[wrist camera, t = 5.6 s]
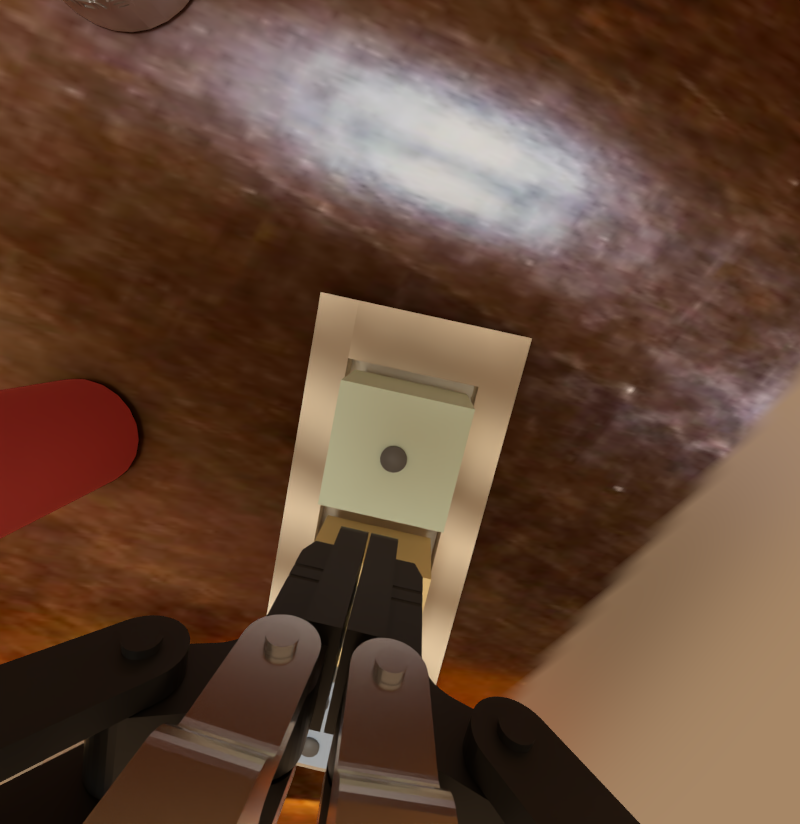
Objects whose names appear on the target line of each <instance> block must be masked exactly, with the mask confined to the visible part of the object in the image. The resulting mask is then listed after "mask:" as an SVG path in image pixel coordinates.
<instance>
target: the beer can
mask: <svg viewBox="0 0 800 824" xmlns="http://www.w3.org/2000/svg"><path fill="white" fill-rule="evenodd" d="M138 442H139V438H138V431H137V424H136V422H135V420H134V418H133V415H132V413H131V411H130V409H129V408H128V406H127V405H126V404H125V403H124V402H123V401H122V399H121V398H120V397H119V396H118V395H117V394H115V393H114V392H112V391H111V390H110V389H108V388H107V387H105V386H104V385H101V384H98V383H95V382H92V381H89V380H85V379H65V380H59V381H53V382H47V383H41V384H35V385H29V386H23V387H17V388H11V389H5V390H0V538H2V537H4V536H6V535H8V534H10V533H12V532H14V531H16V530H18V529H20V528H22V527H24V526H26V525H28V524H30V523H32V522H34V521H36V520H38V519H40V518H41V517H43V516H45V515H47V514H49V513H51V512H53V511H55V510H57V509H59V508H61V507H63V506H65V505H67V504H69V503H71V502H73V501H75V500H77V499H79V498H80V497H82V496H84V495H86V494H88V493H90V492H92V491H94V490H96V489H98V488H100V487H102V486H104V485H106V484H108V483H110V482H112V481H114V480H116V479H117V478H118V477H119V476H121V475H122V474H123V473H124V472H126V471H127V470H128V468H129V467H130V465H131V463H132V462H133V460H134V458H135V456H136V453H137V447H138Z"/></svg>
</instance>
